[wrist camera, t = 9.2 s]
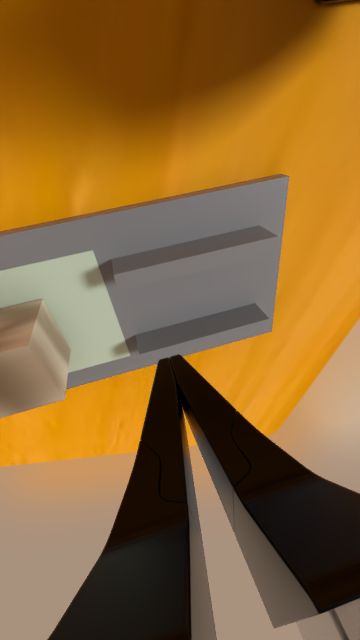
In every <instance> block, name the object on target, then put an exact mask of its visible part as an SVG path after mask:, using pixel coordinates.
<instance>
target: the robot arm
mask: <svg viewBox="0 0 360 640" xmlns="http://www.w3.org/2000/svg"><path fill="white" fill-rule="evenodd" d="M315 1H316V2H317V4H329V3H337V2H345V1H353V0H315ZM182 407H183V408H182ZM183 410H184V413H185V416H186V418H187V421H188V423H189V425H190V428H191V430H192V433H193V435H194V437H195V440H196V442H197V445H198V447H199V449H200V452H201V454H202V457H203V459H204V461H205V464H206V466H207V469H208V471H209V473H210V476H211V478H212V481H213V483H214V485H215V488H216V490H217V493H218V495H219V497H220V500H221V502H222V505H223V507H224V509H225V512H226V514H227V517H228V519H229V521H230V524H231V526H232V529H233V531H234V533H235V536H236V538H237V541H238V543H239V546H240V548H241V550H242V553H243V555H244V558H245V560H246V562H247V565H248V567H249V570H250V572H251V574H252V577H253V579H254V581H255V584H256V586H257V589H258V591H259V594H260V596H261V598H262V601H263V603H264V605H265V608H266V610H267V613H268V615H269V618H270V620H271V622H272V625H273V627H274V628H277V627H280V626H283V625H287V624H290V623H293V622H297V625H298V627H299V630H300V633H301V635H302V638H303V640H360V494H359V493H357V492H355V491H352V490H349V489H347V488H345V487H343V486H340V485H338V484H335V483H333V482H331V481H328V480H326V479H324V478H322V477H320V476H318V475H316V474H315V473H313V472H312V471H310V470H309V469H307V468H306V467H304V466H303V465H302V464H300V463H299V462H298V461H297V460H295V459H294V458H293V457H292V456H290V455H289V454H288V453H286V452H285V451H284V450H283V449H281V448H280V447H279V446H277V445H276V444H275V443H273V442H272V441H271V440H269V439H268V438H267V437H266V436H265V435H264V434H262V433H261V432H260V431H259V430H257V429H256V428H255V427H254V426H253V425H252V424H251V423H250V422H249V421H248V420H246V419H245V418H244V417H243V416H242V415H241V414H240V413H239V412H238V411H236V409H235V408H234V407H233V406H232V405H231V404H230V403H229V402H228V401H227V400H226V399H225V398H224V397H223V396H222V395H221V394H220V393H219V392H218V391H217V390H216V389H215V388H214V387H213V386H212V385H211V384H210V383H208V382H207V381H206V380H205V379H204V378H203V377H202V376H201V375H200V374H199V373H198V372H197V371H196V370H195V369H194V368H193V367H192V366H191V365H190V364H189V363H188V362H187V361H186V360H185V359H184V358H183V357H182V356H181V355H179V354H177V355H174V356H170V359H169V358H168V357H166V358H163V359H160V360H159V361H158V364H157V369H156V373H155V377H154V382H153V386H152V391H151V395H150V399H149V404H148V408H147V412H146V417H145V421H144V425H143V430H142V434H141V441H140V442H139V447H138V451H137V455H136V459H135V463H134V467H133V470H132V473H131V476H130V479H129V483H128V485H127V488H126V491H125V494H124V497H123V499H122V502H121V505H120V508H119V511H118V514H117V516H116V519H115V522H114V525H113V528H112V530H111V533H110V536H109V538H108V541H107V543H106V545H105V547H104V549H103V551H102V553H101V555H100V557H99V559H98V560H97V562H96V564H95V565H94V567H93V568H92V570H91V572H90V573H89V575H88V576H87V578H86V580H85V581H84V583H83V584H82V586H81V588H80V589H79V591H78V592H77V594H76V596H75V597H74V599H73V600H72V602H71V604H70V605H69V607H68V608H67V610H66V612H65V613H64V615H63V617H62V618H61V620H60V621H59V623H58V625H57V626H56V628H55V630H54V631H53V632H52V634H51V635H50V637H49V638H48V639H47V640H217V638H216V631H215V624H214V617H213V611H212V604H211V597H210V590H209V583H208V577H207V570H206V563H205V556H204V549H203V542H202V535H201V529H200V522H199V515H198V508H197V501H196V494H195V488H194V481H193V474H192V467H191V461H190V453H189V446H188V440H187V433H186V426H185V419H184V413H183Z"/></svg>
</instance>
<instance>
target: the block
mask: <svg viewBox="0 0 360 640" xmlns="http://www.w3.org/2000/svg"><path fill="white" fill-rule="evenodd" d="M70 351H71V349H70V347H69V346H68V344H67V342H66V340H65V338H64V336H63V335H62V333H61V331H60V329H59V327H58V325H57V324H56V322H55V320H54V318H53V316H52V315H51V313H50V311H49V309H48V307H47V305H46V304H45V302H44V300H43V299H39V300H35V301H31V302H27V303H22V304H18V305H14V306H10V307H6V308H1V309H0V418H2V417H6V416H9V415H13V414H16V413H20V412H23V411H27V410H30V409H34V408H37V407H41V406H44V405H48V404H51V403H55V402H58V401H62V400H65V393H66V385H67V376H68V368H69V360H70Z"/></svg>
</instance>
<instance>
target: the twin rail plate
mask: <svg viewBox="0 0 360 640" xmlns="http://www.w3.org/2000/svg"><path fill="white" fill-rule="evenodd" d="M288 182H289V176H287V175H283V174H279V175H274V176H269V177H264V178H259V179H255V180H250V181H245V182H240V183H235V184H230V185H225V186H221V187H216V188H211V189H206V190H201V191H196V192H191V193H187V194H182V195H177V196H172V197H167V198H162V199H157V200H153V201H148V202H143V203H138V204H133V205H128V206H123V207H118V208H114V209H109V210H104V211H99V212H94V213H89V214H84V215H80V216H75V217H70V218H65V219H60V220H55V221H50V222H46V223H41V224H36V225H31V226H26V227H21V228H16V229H11V230H7V231H2V232H0V309H1V308H6V307H10V306H14V305H18V304H22V303H27V302H31V301H35V300H39V299H43V300H44V302H45V304H46V305H47V307H48V309H49V311H50V313H51V315H52V316H53V318H54V320H55V322H56V324H57V325H58V327H59V329H60V331H61V333H62V335H63V336H64V338H65V340H66V342H67V344H68V346H69V347H70V349H71V351H70V360H69V368H68V376H67V385H66V389H69V388H73V387H76V386H80V385H83V384H87V383H90V382H94V381H97V380H101V379H104V378H108V377H112V376H115V375H119V374H122V373H126V372H129V371H133V370H136V369H140V368H143V367H147V366H151V365H154V364H158V361H159V360H160V359H163V358H166V357H168V358H169V359H170V356H174V355H177V354H179V355H181V356H186V355H189V354H193V353H197V352H200V351H204V350H207V349H211V348H214V347H218V346H221V345H225V344H228V343H232V342H236V341H239V340H243V339H246V338H250V337H253V336H257V335H260V334H264V333H267V332H271V331H272V323H273V314H274V306H275V297H276V288H277V279H278V270H279V261H280V253H281V244H282V235H283V226H284V217H285V209H286V200H287V191H288Z"/></svg>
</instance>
